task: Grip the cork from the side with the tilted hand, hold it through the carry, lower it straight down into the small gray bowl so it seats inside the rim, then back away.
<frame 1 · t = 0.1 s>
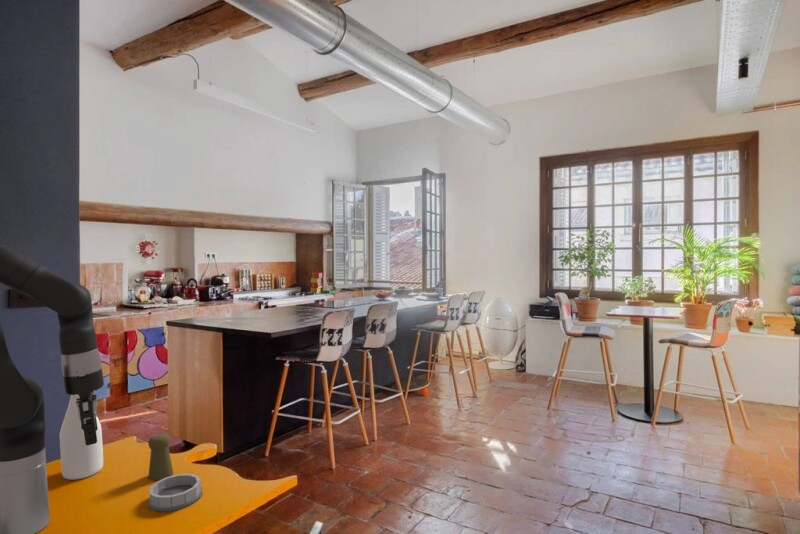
hand: (92, 437, 111), 17 cm above the table, tool pointing down, fingers open, 8 cm apart
wine bottle: (83, 473, 130), on the table
cork: (161, 476, 128), on the table
small gray bowl: (175, 498, 116), on the table
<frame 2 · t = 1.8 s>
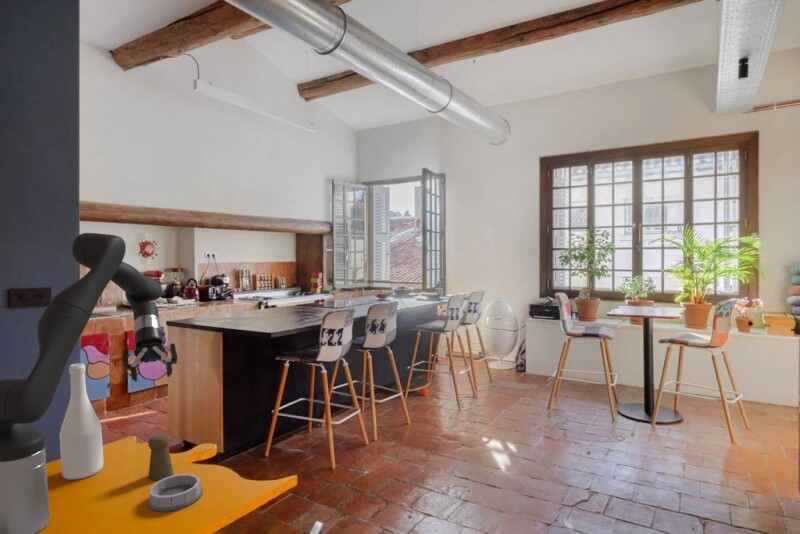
hand: (152, 377, 138), 23 cm above the table, tool tilted 45°, fingers open, 8 cm apart
nothing on the table moved.
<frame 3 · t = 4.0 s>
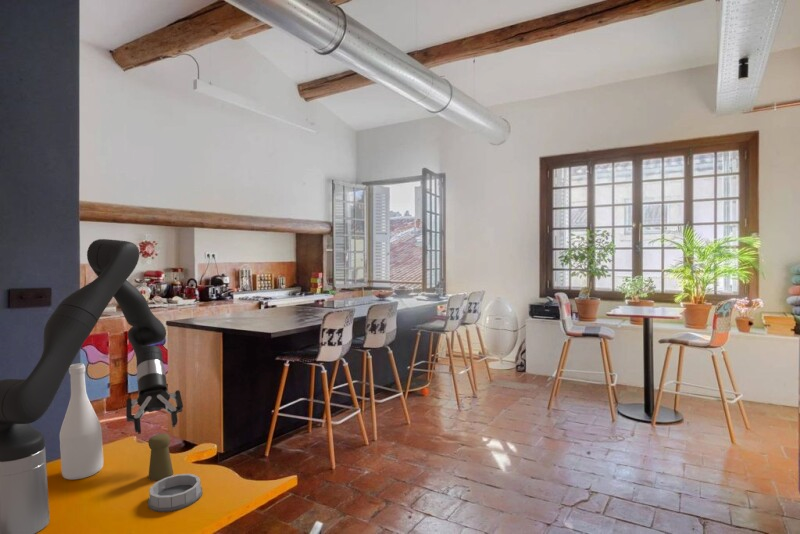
hand: (157, 429, 132), 11 cm above the table, tool tilted 45°, fingers open, 8 cm apart
nothing on the table moved.
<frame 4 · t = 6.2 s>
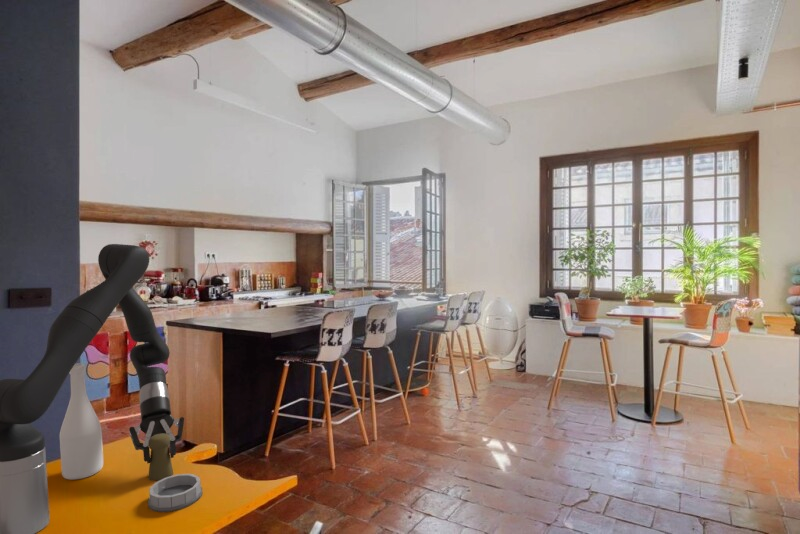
hand: (160, 459, 126), 5 cm above the table, tool tilted 45°, fingers closed on cork, 5 cm apart
cork: (161, 475, 128), on the table, touching gripper
everything else where it was.
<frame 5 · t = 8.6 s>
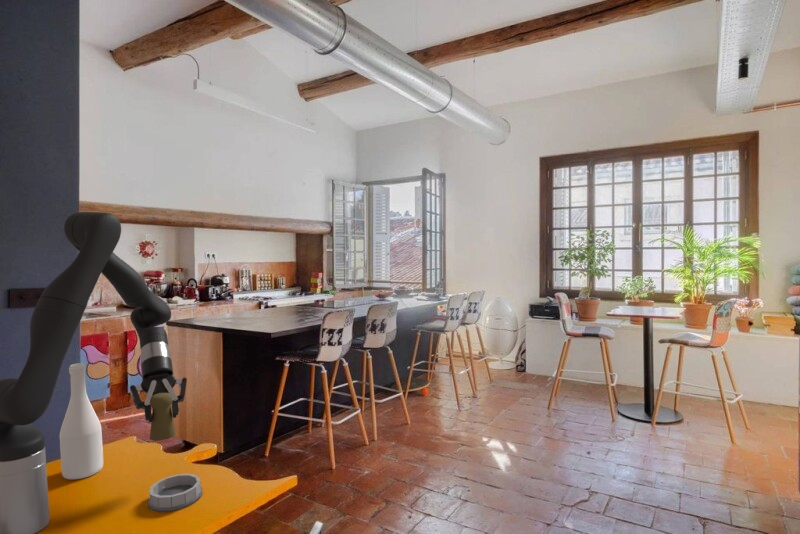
hand: (162, 418, 121), 18 cm above the table, tool tilted 45°, fingers closed on cork, 5 cm apart
cork: (162, 436, 123), point 12 cm above the table, touching gripper
everything else where it was.
when the fingers open (8 cm above the table, at t = 11.3 s): cork drops 2 cm, resting on small gray bowl.
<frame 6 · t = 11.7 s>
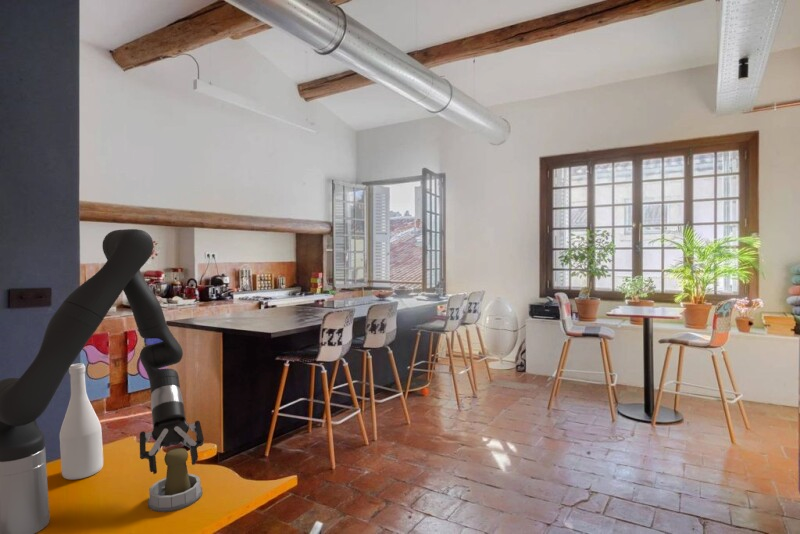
hand: (175, 467, 114), 8 cm above the table, tool tilted 45°, fingers open, 8 cm apart
cork: (178, 494, 116), point 1 cm above the table, touching small gray bowl
everything else where it was.
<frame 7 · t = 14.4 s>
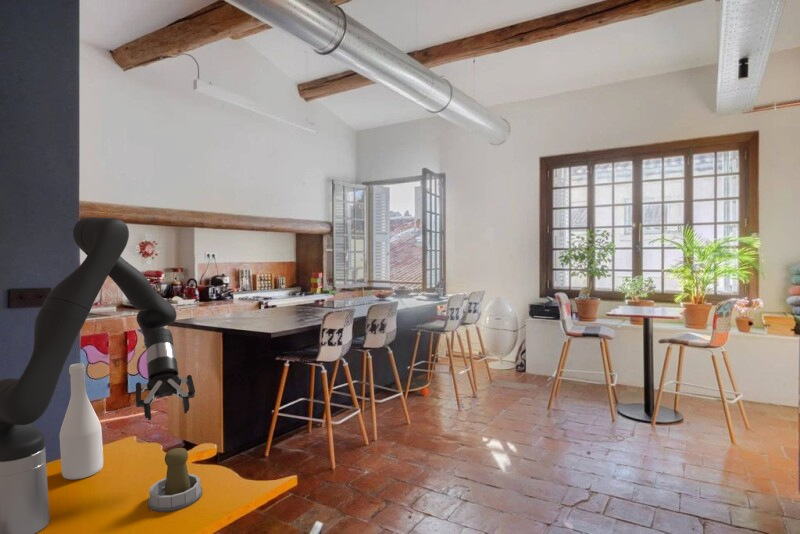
hand: (168, 415, 124), 17 cm above the table, tool tilted 45°, fingers open, 8 cm apart
nothing on the table moved.
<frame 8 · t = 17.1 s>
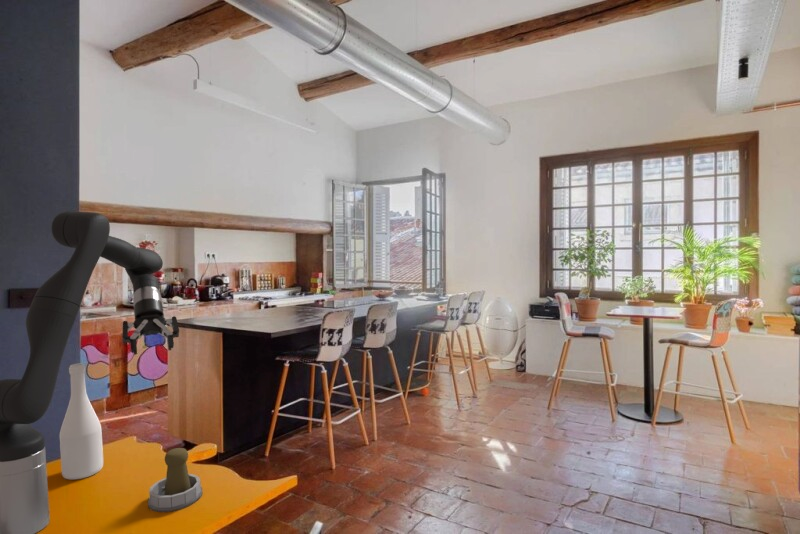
hand: (153, 350, 132), 33 cm above the table, tool tilted 45°, fingers open, 8 cm apart
nothing on the table moved.
at the end: cork 0.6 cm off-centre on the small gray bowl, point 0.6 cm above the small gray bowl's base; cork tilted 0°; the gripper is holding nothing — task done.
